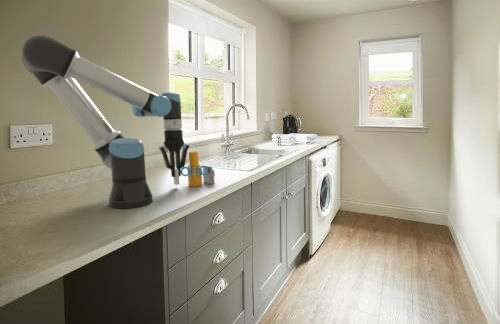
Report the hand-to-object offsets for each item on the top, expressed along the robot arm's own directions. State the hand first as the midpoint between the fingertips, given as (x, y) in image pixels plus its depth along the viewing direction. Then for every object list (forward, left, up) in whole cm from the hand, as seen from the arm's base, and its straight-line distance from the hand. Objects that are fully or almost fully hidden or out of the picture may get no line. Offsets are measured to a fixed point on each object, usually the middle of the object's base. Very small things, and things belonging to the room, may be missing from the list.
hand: (176, 184), depth 152 cm
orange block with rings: (+9, 0, -2) cm, 9 cm away
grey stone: (+15, 0, -2) cm, 15 cm away
